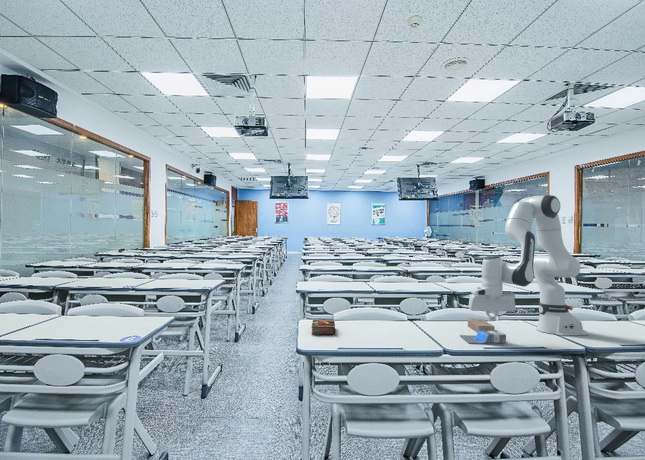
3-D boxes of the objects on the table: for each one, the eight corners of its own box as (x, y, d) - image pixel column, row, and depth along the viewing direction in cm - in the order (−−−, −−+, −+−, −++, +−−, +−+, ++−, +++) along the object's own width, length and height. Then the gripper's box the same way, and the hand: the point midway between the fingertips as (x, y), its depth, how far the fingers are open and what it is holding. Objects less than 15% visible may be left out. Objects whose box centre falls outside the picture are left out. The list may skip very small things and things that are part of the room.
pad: (491, 336, 178) (491, 335, 178) (503, 344, 165) (503, 343, 165) (459, 336, 179) (459, 335, 179) (468, 343, 166) (468, 342, 166)
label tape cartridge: (506, 334, 166) (480, 334, 165) (506, 343, 166) (480, 343, 165) (495, 329, 175) (470, 329, 174) (495, 337, 175) (470, 337, 174)
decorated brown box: (334, 328, 193) (334, 318, 193) (334, 336, 177) (334, 326, 177) (312, 328, 193) (312, 318, 194) (311, 336, 177) (311, 325, 177)
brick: (495, 334, 184) (495, 325, 184) (478, 334, 184) (478, 324, 184) (482, 327, 200) (482, 318, 200) (467, 326, 200) (467, 317, 201)
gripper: (511, 290, 174) (511, 319, 174) (467, 289, 175) (467, 318, 175) (518, 292, 168) (518, 322, 168) (472, 291, 169) (472, 321, 169)
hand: (491, 320), depth 171 cm, fingers closed
